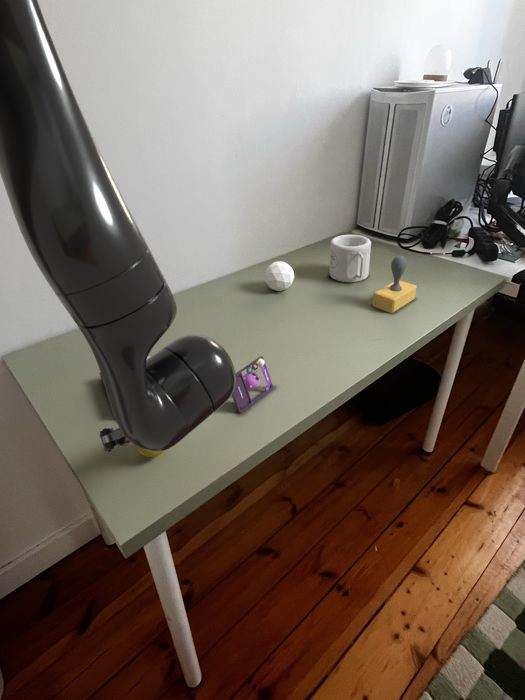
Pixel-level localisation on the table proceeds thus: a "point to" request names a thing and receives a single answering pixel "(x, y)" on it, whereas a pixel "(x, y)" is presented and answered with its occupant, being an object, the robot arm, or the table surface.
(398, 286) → the rubber stamp
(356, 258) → the mug
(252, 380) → the purple toy
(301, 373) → the table surface
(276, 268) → the geometric ball
